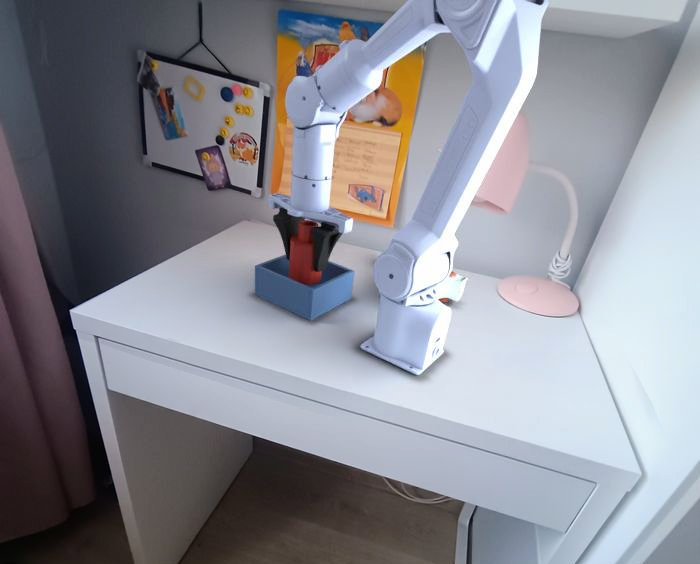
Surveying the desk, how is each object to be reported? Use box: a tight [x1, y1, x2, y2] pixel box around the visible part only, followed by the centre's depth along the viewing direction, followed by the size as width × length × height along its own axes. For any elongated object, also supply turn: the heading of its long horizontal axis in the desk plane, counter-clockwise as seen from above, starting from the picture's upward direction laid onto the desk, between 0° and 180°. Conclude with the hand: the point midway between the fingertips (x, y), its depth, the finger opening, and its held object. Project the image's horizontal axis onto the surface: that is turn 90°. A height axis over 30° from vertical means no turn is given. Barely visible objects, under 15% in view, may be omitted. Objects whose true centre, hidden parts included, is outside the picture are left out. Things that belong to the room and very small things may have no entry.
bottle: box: [289, 219, 322, 285], centre depth 73 cm, size 5×5×9 cm
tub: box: [254, 253, 355, 322], centre depth 76 cm, size 12×11×5 cm
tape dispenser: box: [382, 250, 468, 303], centre depth 84 cm, size 18×5×20 cm
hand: (305, 264), depth 74 cm, fingers closed on bottle, 5 cm apart
